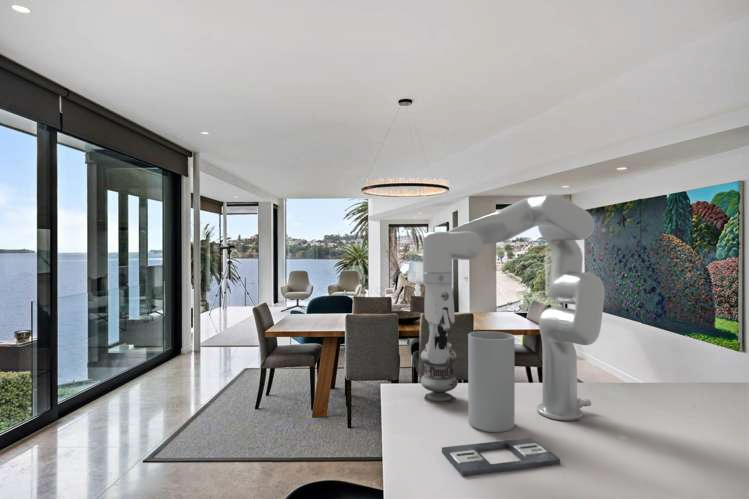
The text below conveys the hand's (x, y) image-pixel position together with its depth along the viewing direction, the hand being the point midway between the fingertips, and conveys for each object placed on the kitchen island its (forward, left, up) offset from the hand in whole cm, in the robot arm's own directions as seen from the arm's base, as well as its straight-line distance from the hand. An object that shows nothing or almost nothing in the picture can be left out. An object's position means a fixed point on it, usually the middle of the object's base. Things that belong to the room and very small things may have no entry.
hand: (438, 349), depth 117 cm
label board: (-10, +14, -23) cm, 29 cm away
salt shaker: (0, 0, -3) cm, 3 cm away
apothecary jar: (-12, -29, -23) cm, 39 cm away
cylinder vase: (-18, -5, -23) cm, 30 cm away
